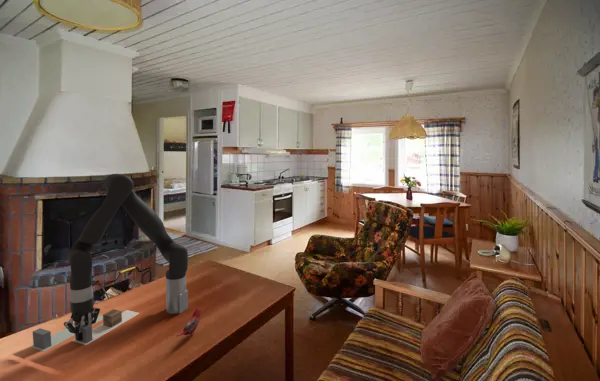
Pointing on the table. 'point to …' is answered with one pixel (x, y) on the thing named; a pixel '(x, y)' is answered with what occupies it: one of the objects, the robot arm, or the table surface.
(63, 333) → the sage strip
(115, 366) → the table surface
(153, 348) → the table surface
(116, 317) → the walnut block
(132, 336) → the table surface
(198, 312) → the decorative bird figurine
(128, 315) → the cream strip
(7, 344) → the table surface
